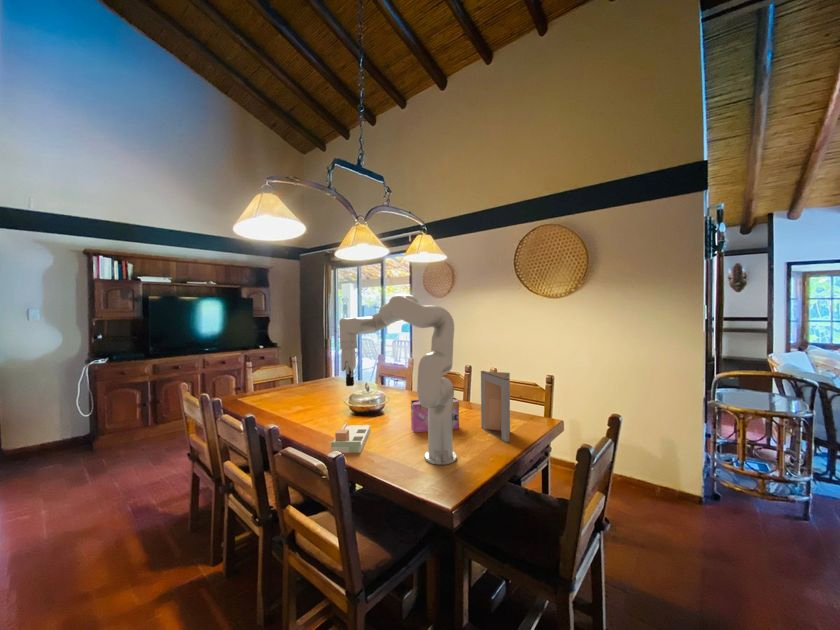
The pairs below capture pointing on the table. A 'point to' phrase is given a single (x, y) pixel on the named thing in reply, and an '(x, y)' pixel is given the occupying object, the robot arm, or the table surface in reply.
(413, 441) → the table surface
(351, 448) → the tray
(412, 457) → the table surface
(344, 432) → the block
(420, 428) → the gum box
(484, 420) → the cabinet
